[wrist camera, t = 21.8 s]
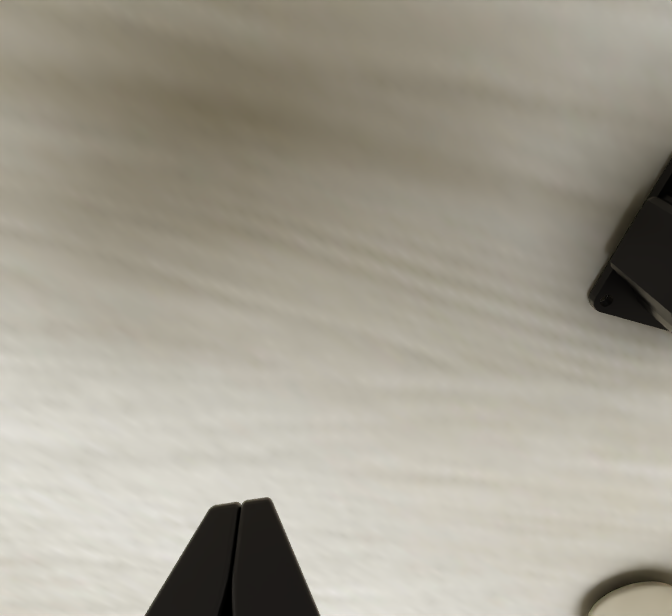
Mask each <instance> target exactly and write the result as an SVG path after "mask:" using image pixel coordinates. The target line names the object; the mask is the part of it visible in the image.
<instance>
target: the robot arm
mask: <svg viewBox="0 0 672 616" xmlns="http://www.w3.org/2000/svg"><path fill="white" fill-rule="evenodd" d="M606 295H608V296H607V298H606V299H605V300H604V301H601V302H600V300H601V299H602V298H603V297H604V296H606ZM589 302H590V304H591V305H592V306H593V307H594V308H595V309H596V310H597V311H599V312H602V313H606V314H609V315H613V316H617V317H620V318H624V319H628V320H631V321H635V322H638V323H642V324H646V325H649V326H653V327H657V328H660V329H664V330H668V331H670V332H671V333H672V159H671V160H670V162H669V164H668V165H667V167H666V169H665V170H664V172H663V174H662V175H661V177H660V179H659V180H658V182H657V184H656V185H655V187H654V188H653V190H652V192H651V193H650V195H649V197H648V198H647V200H646V202H645V203H644V205H643V206H642V208H641V210H640V211H639V213H638V214H637V216H636V218H635V219H634V221H633V223H632V224H631V226H630V228H629V229H628V231H627V233H626V234H625V236H624V238H623V239H622V241H621V243H620V244H619V246H618V248H617V249H616V251H615V253H614V254H613V256H612V258H611V259H610V261H609V263H608V265H607V266H606V268H605V270H604V271H603V273H602V275H601V276H600V278H599V279H598V281H597V283H596V284H595V286H594V288H593V289H592V291H591V293H590V295H589ZM145 616H320V614H319V611H318V609H317V607H316V604H315V602H314V599H313V597H312V595H311V592H310V590H309V588H308V585H307V583H306V580H305V578H304V576H303V573H302V571H301V568H300V566H299V564H298V561H297V559H296V556H295V554H294V552H293V549H292V547H291V545H290V542H289V540H288V537H287V535H286V533H285V530H284V528H283V525H282V523H281V521H280V518H279V516H278V514H277V511H276V509H275V506H274V504H273V502H272V500H271V499H270V498H268V497H265V498H258V499H252V500H246V501H244V502H243V503H242V505H241V504H240V503H239V502H232V503H226V504H219V505H215V506H213V507H211V508H210V509H209V510H208V512H207V514H206V515H205V517H204V519H203V520H202V522H201V524H200V525H199V527H198V528H197V530H196V532H195V533H194V535H193V537H192V538H191V540H190V542H189V543H188V545H187V547H186V548H185V550H184V552H183V553H182V555H181V556H180V558H179V560H178V561H177V563H176V565H175V566H174V568H173V570H172V571H171V573H170V575H169V576H168V578H167V580H166V581H165V583H164V584H163V586H162V588H161V589H160V591H159V593H158V594H157V596H156V598H155V599H154V601H153V603H152V604H151V606H150V608H149V609H148V611H147V613H146V614H145Z"/></svg>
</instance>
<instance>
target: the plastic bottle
mask: <svg viewBox="0 0 672 616" xmlns="http://www.w3.org/2000/svg"><path fill="white" fill-rule="evenodd" d="M588 616H672V586H671V585H669V584H666V583H662V582H653V581H649V582H639V583H634V584H630V585H626V586H623V587H621V588H618V589H616V590H614V591H612V592H610V593H608V594H606V595H605V596H604V597H602V598H601V599H600V600H598V601H597V602H596V603H595V604H594V605H593V607H592V608H591V610H590V611H589V614H588Z"/></svg>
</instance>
